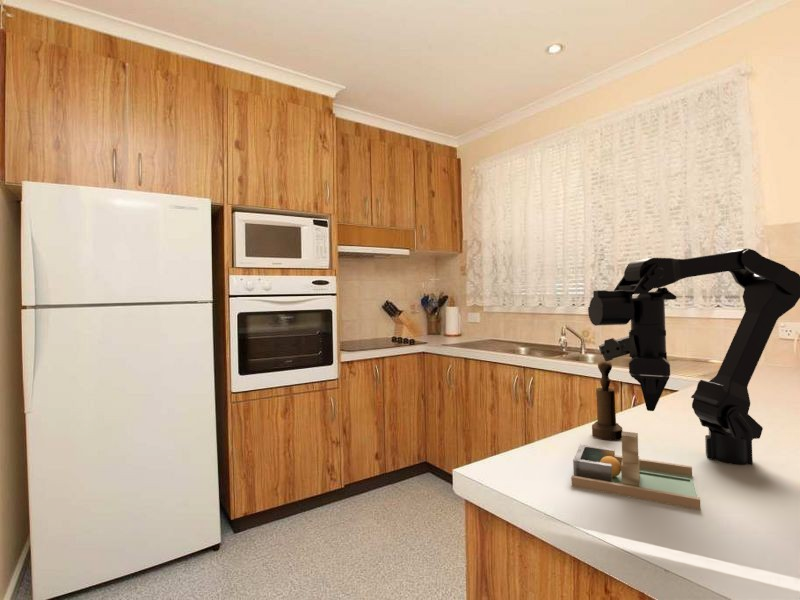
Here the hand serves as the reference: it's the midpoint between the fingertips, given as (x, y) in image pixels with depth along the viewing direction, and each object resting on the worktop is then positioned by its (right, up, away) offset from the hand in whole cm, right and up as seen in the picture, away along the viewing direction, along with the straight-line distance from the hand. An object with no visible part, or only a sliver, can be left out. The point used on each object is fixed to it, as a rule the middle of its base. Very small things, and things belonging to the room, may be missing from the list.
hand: (650, 404), depth 80 cm
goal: (-13, -11, -4) cm, 18 cm away
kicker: (-8, -11, -7) cm, 16 cm away
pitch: (-8, -12, -7) cm, 16 cm away
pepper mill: (+1, -12, +18) cm, 22 cm away
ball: (-11, -10, -6) cm, 15 cm away
